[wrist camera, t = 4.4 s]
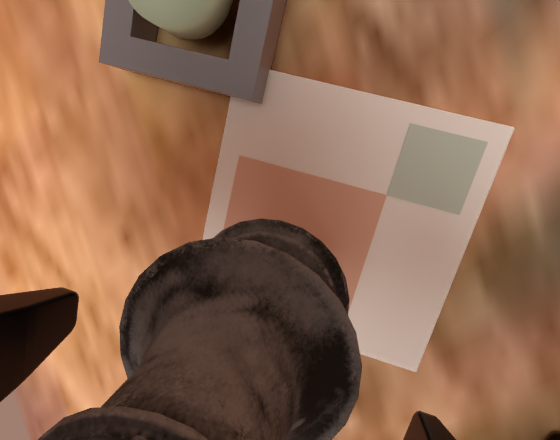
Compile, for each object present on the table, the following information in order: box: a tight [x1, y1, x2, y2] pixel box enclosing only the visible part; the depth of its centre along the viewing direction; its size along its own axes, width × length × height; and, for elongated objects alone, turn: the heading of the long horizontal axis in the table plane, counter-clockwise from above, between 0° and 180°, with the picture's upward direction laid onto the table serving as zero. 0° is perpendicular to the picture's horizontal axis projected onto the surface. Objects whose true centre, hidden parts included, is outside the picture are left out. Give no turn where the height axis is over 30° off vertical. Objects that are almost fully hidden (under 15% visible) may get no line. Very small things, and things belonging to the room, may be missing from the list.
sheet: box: [202, 69, 515, 372], centre depth 17 cm, size 12×12×1 cm
